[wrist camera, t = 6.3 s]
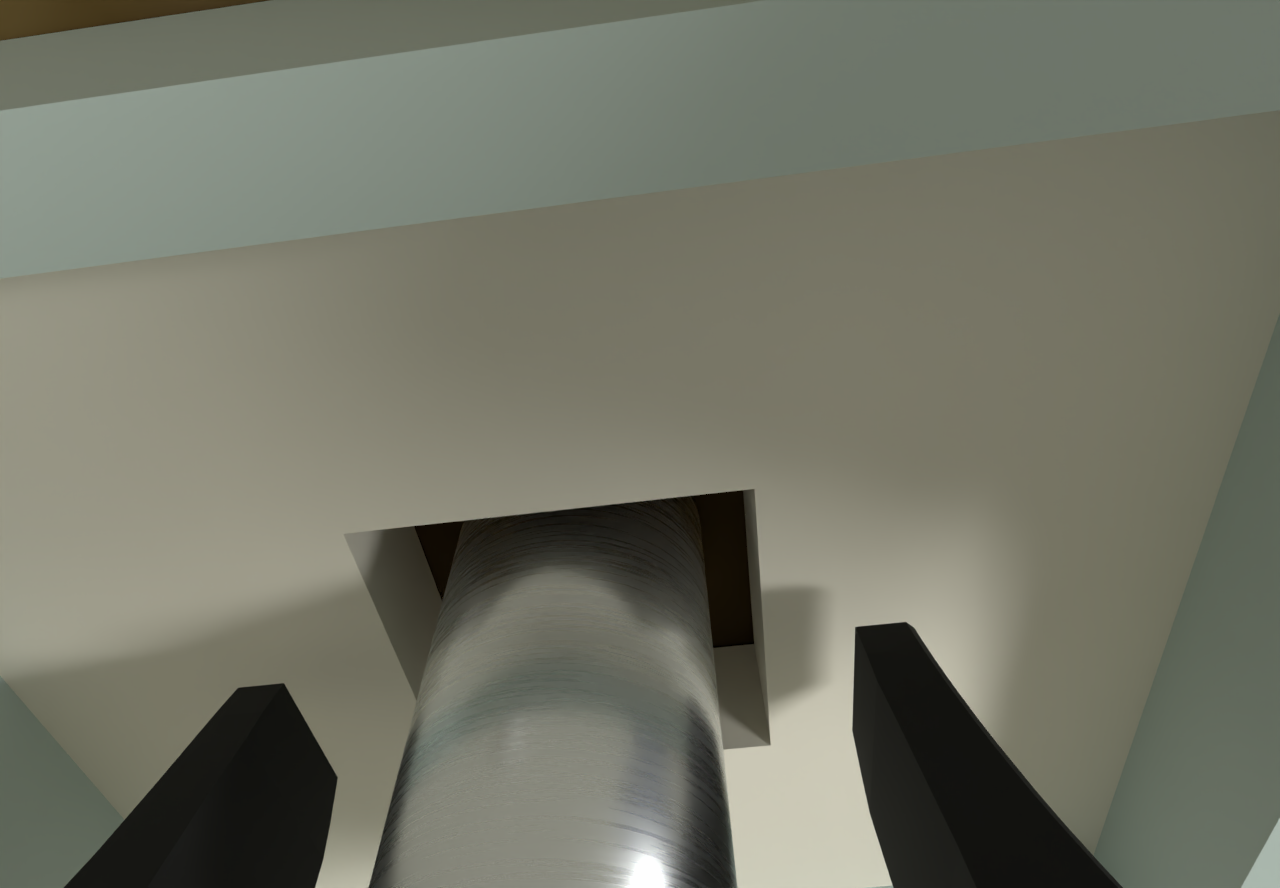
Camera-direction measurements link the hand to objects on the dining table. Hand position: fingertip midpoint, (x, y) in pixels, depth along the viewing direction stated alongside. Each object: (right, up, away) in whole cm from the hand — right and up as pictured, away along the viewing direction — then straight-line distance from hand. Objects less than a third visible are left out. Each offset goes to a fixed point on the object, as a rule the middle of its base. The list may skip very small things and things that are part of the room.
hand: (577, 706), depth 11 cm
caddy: (0, +2, +2) cm, 3 cm away
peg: (0, +2, +2) cm, 3 cm away
